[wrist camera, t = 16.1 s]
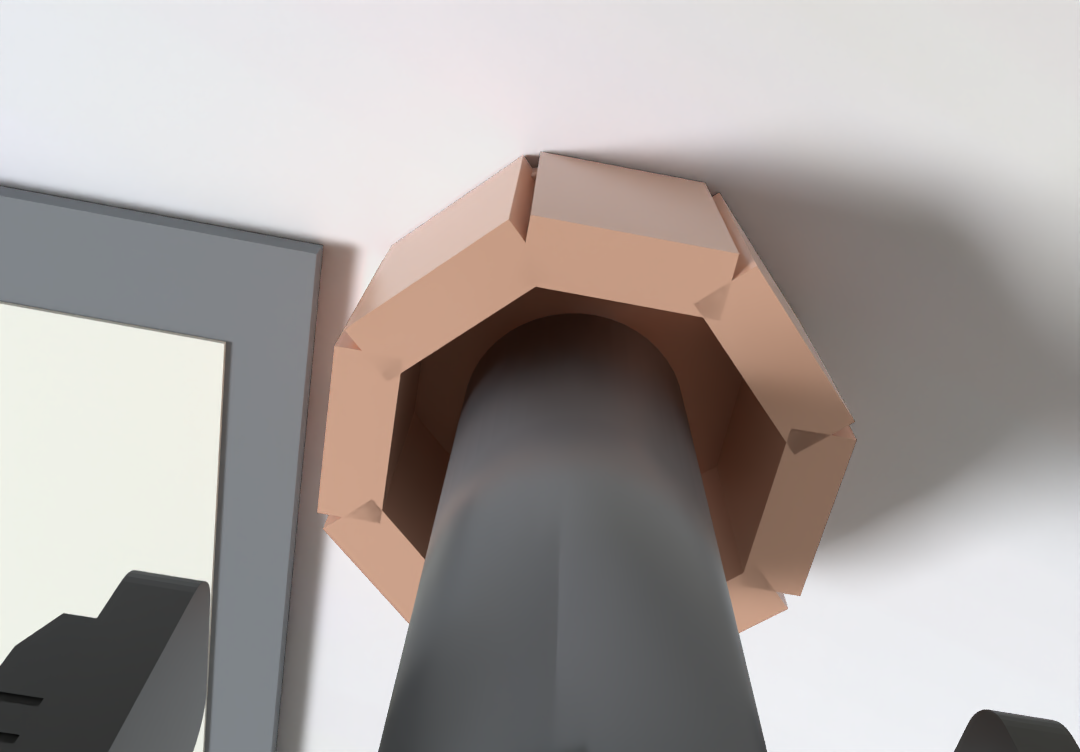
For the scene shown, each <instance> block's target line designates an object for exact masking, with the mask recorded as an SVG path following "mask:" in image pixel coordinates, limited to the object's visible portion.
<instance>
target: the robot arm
mask: <svg viewBox="0 0 1080 752" xmlns="http://www.w3.org/2000/svg"><path fill="white" fill-rule="evenodd" d="M209 623H210V587H209V584H208V582H206V581H201V580H194V579H188V578H182V577H176V576H170V575H163V574H157V573H151V572H145V571H138V570H132V571H130V572H129V573H127V574H126V575H125V577H124V578H123V579H122V581H121V582H120V584H119V585H118V587H117V588H116V590H115V591H114V593H113V594H112V596H111V597H110V599H109V600H108V602H107V603H106V605H105V606H104V608H103V609H102V611H101V613H100V614H99V616H98V617H97V618H92V617H86V616H79V615H73V614H67V613H63V614H61V615H60V616H58V617H57V618H55V619H54V620H52V621H51V622H49V623H48V624H46V625H45V626H43V627H42V628H41V629H39V630H38V631H36V632H35V633H33V634H32V635H30V636H29V637H27V638H26V639H24V640H23V641H21V642H20V643H18V644H17V645H15V646H14V648H13V649H12V650H11V652H10V653H9V654H8V656H7V657H6V658H5V660H4V661H3V662H2V664H1V665H0V752H193V751H194V748H195V745H196V742H197V738H198V735H199V731H200V728H201V724H202V719H203V714H204V709H205V703H206V693H207V671H208V647H209ZM954 752H1080V749H1079V747H1078V745H1077V744H1076V742H1075V740H1074V739H1073V737H1072V735H1071V734H1070V732H1069V731H1068V730H1067V729H1066V728H1065V727H1064V726H1063V725H1062V724H1061V723H1059V722H1057V721H1054V720H1049V719H1043V718H1037V717H1030V716H1024V715H1018V714H1012V713H1005V712H999V711H993V710H981V711H979V712H977V713H976V714H975V715H974V716H973V717H972V718H971V720H970V721H969V723H968V725H967V727H966V729H965V731H964V733H963V735H962V737H961V739H960V741H959V743H958V745H957V747H956V749H955V751H954Z"/></svg>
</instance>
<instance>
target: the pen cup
mask: <svg viewBox="0 0 1080 752" xmlns="http://www.w3.org/2000/svg"><path fill="white" fill-rule="evenodd" d="M565 313H581V314H590V315H597V316H601V317H605V318H609V319H612V320H614V321H617V322H619V323H622V324H624V325H626V326H628V327H630V328H632V329H634V330H635V331H637V332H638V333H640V334H641V335H643V336H644V337H645V338H647V339H648V340H649V341H650V342H651V343H652V344H653V345H654V346H655V347H657V348H658V349H659V351H660V352H661V353H662V354H663V356H664V357H665V358H666V359H667V361H668V363H669V364H670V366H671V368H672V369H673V371H674V373H675V375H676V378H677V380H678V383H679V386H680V390H681V394H682V398H683V402H684V406H685V410H686V414H687V419H688V423H689V427H690V431H691V435H692V439H693V444H694V448H695V452H696V456H697V460H698V465H699V469H700V473H701V477H702V481H703V486H704V490H705V494H706V498H707V502H708V507H709V511H710V515H711V519H712V523H713V527H714V532H715V536H716V540H717V544H718V548H719V553H720V557H721V561H722V565H723V569H724V574H725V578H726V582H727V586H728V590H729V594H730V599H731V603H732V607H733V611H734V615H735V620H736V624H737V628H738V632H739V633H740V632H742V631H744V630H746V629H748V628H750V627H752V626H754V625H756V624H758V623H760V622H762V621H764V620H766V619H768V618H770V617H772V616H774V615H776V614H779V613H781V612H783V611H785V610H787V609H788V607H787V604H786V600H785V597H784V594H783V593H786V594H791V595H797V596H800V595H801V592H802V590H803V587H804V584H805V581H806V578H807V576H808V573H809V570H810V567H811V565H812V562H813V559H814V556H815V554H816V551H817V548H818V545H819V543H820V540H821V537H822V534H823V532H824V529H825V526H826V523H827V520H828V518H829V515H830V512H831V509H832V507H833V504H834V501H835V498H836V496H837V493H838V490H839V487H840V485H841V482H842V479H843V476H844V473H845V471H846V468H847V465H848V462H849V460H850V457H851V454H852V451H853V449H854V446H855V443H856V440H857V439H856V438H855V436H854V434H853V432H852V430H851V428H850V426H849V425H850V424H852V423H854V422H855V421H854V419H853V417H852V416H851V414H850V412H849V410H848V408H847V406H846V405H845V403H844V401H843V399H842V397H841V395H840V394H839V392H838V390H837V388H836V386H835V385H834V383H833V381H832V379H831V377H830V375H829V374H828V372H827V370H826V368H825V366H824V364H823V363H822V361H821V359H820V357H819V355H818V353H817V352H816V350H815V348H814V346H813V344H812V343H811V341H810V339H809V337H808V335H807V333H806V332H805V330H804V328H803V326H802V324H801V322H800V321H799V319H798V318H797V316H796V314H795V313H794V311H793V310H792V308H791V306H790V305H789V303H788V302H787V300H786V298H785V297H784V295H783V294H782V292H781V290H780V289H779V287H778V286H777V284H776V282H775V281H774V279H773V278H772V276H771V274H770V273H769V271H768V270H767V268H766V266H765V265H764V263H763V261H762V260H761V258H760V257H759V255H758V253H757V252H756V250H755V249H754V247H753V245H752V244H751V242H750V241H749V239H748V237H747V236H746V234H745V233H744V231H743V229H742V228H741V226H740V225H739V223H738V221H737V220H736V218H735V217H734V215H733V213H732V212H731V210H730V209H729V207H728V205H727V204H726V202H725V201H724V199H723V197H722V196H721V194H720V193H718V194H716V195H714V196H713V197H712V196H711V194H710V192H709V190H708V188H707V186H706V183H704V182H698V181H693V180H688V179H683V178H677V177H672V176H667V175H662V174H656V173H651V172H646V171H641V170H635V169H630V168H625V167H620V166H615V165H609V164H604V163H599V162H594V161H588V160H583V159H578V158H573V157H567V156H562V155H557V154H552V153H546V152H540V157H539V163H538V167H537V168H532V167H531V165H530V164H529V163H528V161H527V160H526V158H525V157H524V155H523V156H521V157H520V158H518V159H517V160H515V161H514V162H512V163H511V164H509V165H508V166H507V167H505V168H504V169H502V170H501V171H499V172H498V173H496V174H495V175H493V176H492V177H491V178H489V179H488V180H486V181H485V182H483V183H482V184H480V185H479V186H478V187H476V188H475V189H473V190H472V191H470V192H469V193H467V194H466V195H464V196H463V197H462V198H460V199H459V200H457V201H456V202H454V203H453V204H451V205H450V206H448V207H447V208H446V209H444V210H443V211H441V212H440V213H438V214H437V215H435V216H434V217H432V218H431V219H430V220H428V221H427V222H425V223H424V224H422V225H421V226H419V227H418V228H416V229H415V230H414V231H412V232H411V233H409V234H408V235H406V236H405V237H403V238H402V239H400V240H399V241H398V242H396V243H395V244H393V245H392V246H391V247H390V249H389V251H388V253H387V255H386V256H385V258H384V259H383V261H382V262H381V264H380V266H379V268H378V269H377V271H376V273H375V275H374V276H373V278H372V280H371V282H370V284H369V285H368V287H367V289H366V291H365V292H364V294H363V296H362V298H361V299H360V301H359V303H358V305H357V307H356V308H355V310H354V312H353V314H352V315H351V317H350V319H349V321H348V322H347V324H346V326H345V328H344V329H343V331H342V333H341V335H340V337H339V338H338V340H337V342H336V344H335V345H334V354H333V363H332V373H331V383H330V392H329V402H328V412H327V421H326V431H325V441H324V450H323V460H322V470H321V479H320V489H319V499H318V508H317V513H321V514H327V515H328V518H327V520H326V523H325V525H324V527H323V530H324V531H325V532H326V533H327V534H328V535H329V536H330V537H331V538H332V540H333V541H334V542H335V543H336V544H337V545H338V546H339V547H340V548H341V549H342V551H343V552H344V553H345V554H346V555H347V556H348V557H349V558H350V559H351V560H352V562H353V563H354V564H355V565H356V566H357V567H358V568H359V569H360V570H361V571H362V573H363V574H364V575H365V576H366V577H367V578H368V579H369V580H370V581H371V582H372V584H373V585H374V586H375V587H376V588H377V589H378V590H379V591H380V592H381V594H382V595H383V596H384V597H385V598H386V599H387V600H388V601H389V602H390V603H391V605H392V606H393V607H394V608H395V609H396V610H397V611H398V612H399V613H400V614H401V616H402V617H403V618H404V619H405V620H406V621H407V622H408V623H409V624H410V619H411V615H412V611H413V607H414V603H415V599H416V595H417V591H418V587H419V582H420V578H421V574H422V570H423V566H424V562H425V558H426V554H427V550H428V546H429V541H430V537H431V533H432V529H433V525H434V521H435V517H436V513H437V509H438V504H439V500H440V496H441V492H442V488H443V484H444V480H445V476H446V472H447V468H448V463H449V459H450V455H451V451H452V447H453V443H454V439H455V435H456V431H457V426H458V422H459V418H460V414H461V410H462V406H463V402H464V398H465V394H466V390H467V385H468V383H469V380H470V378H471V375H472V373H473V371H474V369H475V367H476V366H477V364H478V362H479V361H480V359H481V358H482V357H483V355H484V354H485V353H486V352H487V350H488V349H489V348H490V347H491V346H492V345H493V344H494V343H495V342H497V341H498V340H499V339H500V338H501V337H503V336H504V335H506V334H507V333H508V332H510V331H511V330H513V329H515V328H517V327H519V326H520V325H522V324H525V323H527V322H530V321H532V320H535V319H538V318H542V317H546V316H550V315H557V314H565Z"/></svg>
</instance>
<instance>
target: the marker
mask: <svg viewBox="0 0 1080 752" xmlns="http://www.w3.org/2000/svg"><path fill="white" fill-rule="evenodd" d="M378 752H767V750H766V745H765V741H764V737H763V733H762V729H761V724H760V720H759V716H758V712H757V708H756V703H755V699H754V695H753V691H752V687H751V682H750V678H749V674H748V670H747V666H746V662H745V657H744V653H743V649H742V645H741V641H740V636H739V632H738V628H737V624H736V620H735V615H734V611H733V607H732V603H731V599H730V594H729V590H728V586H727V582H726V578H725V574H724V569H723V565H722V561H721V557H720V553H719V548H718V544H717V540H716V536H715V532H714V527H713V523H712V519H711V515H710V511H709V507H708V502H707V498H706V494H705V490H704V486H703V481H702V477H701V473H700V469H699V465H698V460H697V456H696V452H695V448H694V444H693V439H692V435H691V431H690V427H689V423H688V419H687V414H686V410H685V406H684V402H683V398H682V394H681V390H680V386H679V383H678V380H677V378H676V375H675V373H674V371H673V369H672V368H671V366H670V364H669V363H668V361H667V359H666V358H665V357H664V356H663V354H662V353H661V352H660V351H659V349H658V348H657V347H655V346H654V345H653V344H652V343H651V342H650V341H649V340H648V339H647V338H645V337H644V336H643V335H641V334H640V333H638V332H637V331H635V330H634V329H632V328H630V327H628V326H626V325H624V324H622V323H619V322H617V321H614V320H612V319H609V318H605V317H601V316H597V315H590V314H581V313H565V314H557V315H550V316H546V317H542V318H538V319H535V320H532V321H530V322H527V323H525V324H522V325H520V326H519V327H517V328H515V329H513V330H511V331H510V332H508V333H507V334H506V335H504V336H503V337H501V338H500V339H499V340H498V341H497V342H495V343H494V344H493V345H492V346H491V347H490V348H489V349H488V350H487V352H486V353H485V354H484V355H483V357H482V358H481V359H480V361H479V362H478V364H477V366H476V367H475V369H474V371H473V373H472V375H471V378H470V380H469V383H468V385H467V390H466V394H465V398H464V402H463V406H462V410H461V414H460V418H459V422H458V426H457V431H456V435H455V439H454V443H453V447H452V451H451V455H450V459H449V463H448V468H447V472H446V476H445V480H444V484H443V488H442V492H441V496H440V500H439V504H438V509H437V513H436V517H435V521H434V525H433V529H432V533H431V537H430V541H429V546H428V550H427V554H426V558H425V562H424V566H423V570H422V574H421V578H420V582H419V587H418V591H417V595H416V599H415V603H414V607H413V611H412V615H411V619H410V624H409V628H408V632H407V636H406V640H405V644H404V648H403V652H402V656H401V660H400V665H399V669H398V673H397V677H396V681H395V685H394V689H393V693H392V697H391V702H390V706H389V710H388V714H387V718H386V722H385V726H384V730H383V734H382V738H381V743H380V747H379V751H378Z"/></svg>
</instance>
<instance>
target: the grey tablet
mask: <svg viewBox="0 0 1080 752" xmlns="http://www.w3.org/2000/svg"><path fill="white" fill-rule="evenodd" d="M322 253H323V245H318V244H312V243H307V242H301V241H296V240H291V239H285V238H280V237H274V236H269V235H263V234H258V233H253V232H247V231H242V230H236V229H231V228H226V227H220V226H215V225H209V224H204V223H198V222H193V221H188V220H182V219H177V218H171V217H166V216H161V215H155V214H150V213H144V212H139V211H133V210H128V209H123V208H117V207H112V206H106V205H101V204H96V203H90V202H85V201H79V200H74V199H68V198H63V197H58V196H52V195H47V194H41V193H36V192H30V191H25V190H20V189H14V188H9V187H3V186H0V665H1V664H2V662H3V661H4V660H5V658H6V657H7V656H8V654H9V653H10V652H11V650H12V649H13V648H14V646H15V645H17V644H18V643H20V642H21V641H23V640H24V639H26V638H27V637H29V636H30V635H32V634H33V633H35V632H36V631H38V630H39V629H41V628H42V627H43V626H45V625H46V624H48V623H49V622H51V621H52V620H54V619H55V618H57V617H58V616H60V615H61V614H63V613H67V614H73V615H79V616H86V617H92V618H97V617H98V616H99V614H100V613H101V611H102V609H103V608H104V606H105V605H106V603H107V602H108V600H109V599H110V597H111V596H112V594H113V593H114V591H115V590H116V588H117V587H118V585H119V584H120V582H121V581H122V579H123V578H124V577H125V575H126V574H127V573H129V572H130V571H132V570H138V571H145V572H151V573H157V574H163V575H170V576H176V577H182V578H188V579H194V580H201V581H206V582H208V584H209V587H210V623H209V647H208V671H207V693H206V703H205V709H204V714H203V719H202V724H201V728H200V731H199V735H198V738H197V742H196V745H195V748H194V751H193V752H276V743H277V732H278V722H279V711H280V700H281V690H282V679H283V668H284V658H285V647H286V636H287V626H288V615H289V604H290V594H291V583H292V572H293V562H294V551H295V540H296V530H297V519H298V508H299V498H300V487H301V476H302V466H303V455H304V445H305V434H306V423H307V413H308V402H309V391H310V381H311V370H312V359H313V349H314V338H315V327H316V317H317V306H318V295H319V285H320V274H321V263H322Z"/></svg>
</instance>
